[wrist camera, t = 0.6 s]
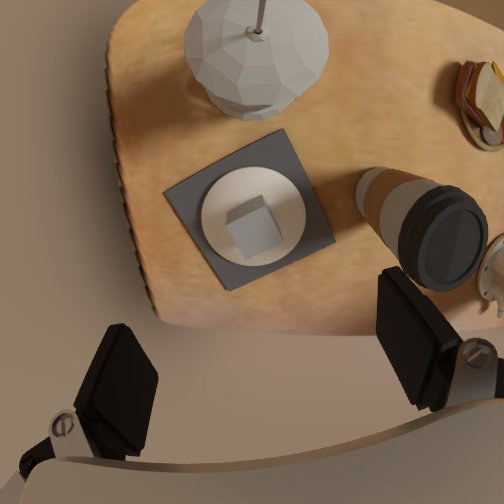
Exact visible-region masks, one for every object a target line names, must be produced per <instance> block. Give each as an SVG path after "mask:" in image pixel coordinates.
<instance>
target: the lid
mask: <svg viewBox="0 0 504 504" xmlns="http://www.w3.org/2000/svg"><path fill="white" fill-rule="evenodd" d="M201 221H202V227H203V231H204V234H205V237H206V239H207V240H208V242H209V244H210V245H211V246H212V248H213V249H214V250H215V251H216V252H217V253H218V254H220V255H221V256H222V257H224V258H225V259H227V260H229V261H231V262H234V263H237V264H240V265H245V266H260V265H266V264H270V263H272V262H275V261H277V260H279V259H281V258H283V257H284V256H285V255H287V254H288V253H289V252H290V251H291V250H292V249H293V248H294V247H295V246H296V244H297V243H298V241H299V240H300V238H301V236H302V234H303V231H304V227H305V222H306V211H305V206H304V202H303V199H302V197H301V195H300V193H299V191H298V190H297V188H296V187H295V186H294V184H293V183H292V182H291V181H290V180H289V179H288V178H286V177H285V176H284V175H282V174H281V173H279V172H277V171H275V170H272V169H269V168H265V167H258V166H248V167H242V168H239V169H235V170H233V171H231V172H229V173H227V174H225V175H224V176H222V177H221V178H220V179H219V180H217V181H216V183H215V184H214V185H213V186H212V187H211V189H210V190H209V192H208V194H207V196H206V198H205V200H204V203H203V207H202V214H201Z"/></svg>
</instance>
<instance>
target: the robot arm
mask: <svg viewBox="0 0 504 504" xmlns="http://www.w3.org/2000/svg"><path fill="white" fill-rule="evenodd" d="M477 288H478V291H479V293H480V295H481V296H482V297H483V298H485V299H487V300H492V299H495V300H496V301H497V304H498V310H497V316H498V317H499V318H504V234H503V235H501V236H500V237H499V238H497V239H496V240H495V241H494V243H493V244H492V245H491V246H490V248H489V249H488V251H487V253H486V254H485V256H484V258H483V260H482V263H481V265H480V268H479V272H478V277H477ZM376 334H377V338H378V340H379V341H380V344H381V345H382V347H383V349H384V351H385V353H386V355H387V357H388V359H389V361H390V363H391V365H392V367H393V368H394V371H395V372H396V374H397V376H398V379H399V381H400V383H401V385H402V387H403V389H404V391H405V393H406V395H407V397H408V399H409V401H410V403H411V404H412V405H415V404H416V406H417V408H418V411H420V410H422V409H425V408H427V407H429V409H430V411H431V412H433V413H432V414H429V415H426V416H423V417H420V418H418V419H415V420H413V421H411V422H408V423H405V424H402V425H399V426H397V427H394V428H391V429H388V430H385V431H382V432H379V433H376V434H373V435H370V436H366V437H363V438H360V439H356V440H353V441H349V442H345V443H342V444H338V445H334V446H330V447H326V448H321V449H317V450H312V451H307V452H302V453H297V454H291V455H285V456H279V457H273V458H265V459H257V460H248V461H237V462H224V463H202V464H166V463H146V462H133V461H126V460H125V458H126V455H128V456H137V457H139V456H140V452H141V450H142V449H143V448H144V446H145V441H146V436H147V431H148V426H149V421H150V416H151V411H152V406H153V402H154V397H155V393H156V388H157V384H158V373H157V371H156V370H155V368H154V367H153V365H152V363H151V362H150V360H149V359H148V357H147V355H146V354H145V352H144V351H143V349H142V347H141V346H140V344H139V342H138V341H137V339H136V337H135V335H134V334H133V332H132V330H131V329H130V328H129V327H128V326H126V325H125V324H123V323H121V324H114V325H110V326H109V327H108V329H107V331H106V333H105V335H104V337H103V339H102V341H101V343H100V345H99V347H98V350H97V352H96V354H95V356H94V358H93V360H92V362H91V365H90V367H89V369H88V371H87V374H86V376H85V378H84V381H83V383H82V385H81V388H80V390H79V392H78V395H77V397H76V399H75V402H74V404H73V406H74V407H75V408H76V411H75V412H73V411H72V410H63V411H60V412H58V413H57V414H56V415H55V416H54V417H53V419H52V420H51V422H50V424H49V435H50V436H49V437H48V438H46V439H45V440H43V441H42V442H40V443H39V444H37V445H36V446H34V447H33V448H31V449H30V450H29V451H27V452H26V453H25V454H23V456H22V457H21V460H20V463H19V470H20V472H19V471H16V472H15V473H14V474H13V476H12V477H11V478H10V479H9V480H8V482H7V483H6V484H5V485H4V487H3V488H2V489H1V490H0V504H504V359H502V358H498V355H497V351H496V349H495V347H494V346H493V345H492V344H491V343H490V342H489V341H487V340H485V339H482V338H471V339H467V340H466V341H463V340H462V339H461V338H460V336H459V335H458V334H457V332H456V331H455V330H454V328H453V327H452V326H451V325H450V323H449V322H448V321H447V320H446V318H445V317H444V316H443V315H442V313H441V312H440V311H439V310H438V309H437V307H436V306H435V305H434V304H433V303H432V301H431V300H430V299H429V298H428V297H427V296H426V295H423V294H422V292H421V291H420V290H419V289H418V288H417V287H416V285H415V284H414V283H413V282H412V281H411V280H410V279H409V277H408V276H407V275H406V274H405V273H404V272H403V271H402V270H401V268H400V267H398V266H395V267H391V268H387V269H384V270H383V271H382V274H380V275H379V276H378V299H377V320H376Z"/></svg>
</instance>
